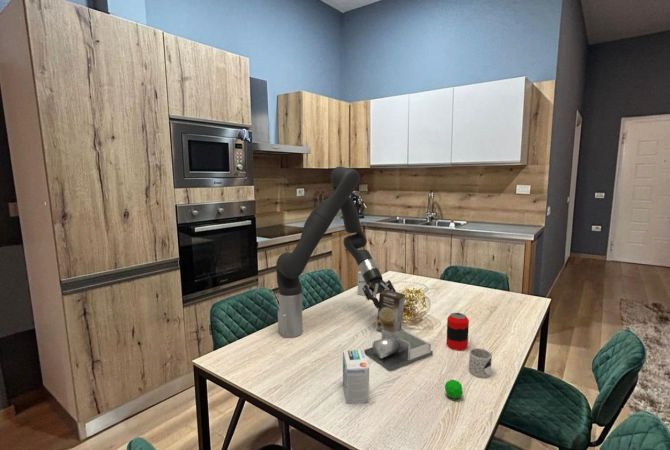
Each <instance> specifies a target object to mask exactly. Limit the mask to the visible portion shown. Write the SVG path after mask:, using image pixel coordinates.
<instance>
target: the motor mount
mask: <svg viewBox="0 0 670 450" xmlns="http://www.w3.org/2000/svg"><path fill="white" fill-rule="evenodd" d="M371 346H372V347H369V348H366V349H363V350H364V353H365V356H366V357H369V359H371V360H373V361H374V362H376V363H377V364H378V365H380V366H381V367H382V368H384V369H385V370H387V371H388V372H393V371H395V370H397V369H401V368H403V367H405V366H408V365H411V364H414V363H416V362H419V361H421V360H424V359H426V358H429V357H431V356H433V355H434V354H433V353H434V351H433V350H432V343H430V342H428V341H426V340H425V339H423V338H421V337H419V336H417V335H414V334H413V333H411V332H409V331H407V330H406V329H401V331H398V332H395V333H391V332H390V331H388V330H386V329H382V331H381V338H380V339H377V340H374V341H373V342H372V345H371Z"/></svg>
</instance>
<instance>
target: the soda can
mask: <svg viewBox="0 0 670 450" xmlns="http://www.w3.org/2000/svg"><path fill="white" fill-rule="evenodd" d="M446 319H447V321H446V322H447V323H446V341H445V342H446V347H448V348H449V349H451V350H454V351H466V350H467V348H468V347H469V346H468V344H469V328H470V327H469V324H470V320H469V318H468V317H467V315H465V314H463V313H462V312H452V313H450V314H449V315H448V316H447V318H446Z"/></svg>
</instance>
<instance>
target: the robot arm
mask: <svg viewBox="0 0 670 450" xmlns="http://www.w3.org/2000/svg"><path fill="white" fill-rule="evenodd" d="M330 182H331V185H332V188H333V190H334V191H333V193H332V194H330V196H329V197H327V198H326V199H325V200H323V201H322V202H320V203H319V204H318V205H316V206H315V207H314V208H313V209H312V211H311V212H310V213H309V216H307V218H306V220H305V222H304V224H303V228H302V230H301V231H302V232H301V235H300V238H299V240H298V243H297V244H296V246H295V247H294V249H293V250H292V252H291V251H290V252H289V251H286V252H282V253H281V254H280V255H279V257H277V259H276V264H275V265H276V267H275V268H276V269H275V270H276V283H277V284H276V285H277V287H278V296H279V299H278V305H279V306H278V307H279V309H278V310H277V333H278V334H280V335H281V336H282V337H283V338H284V339H286V338H296V337H298V336H301V335H302V334H303V333H304V330H303V327H304V326H303V325H304V324H303V286H302V284H301V280H300V278H299V277H300V276H301V275H302V274H303V273H304V270H305V269H306V266H307V264H308V262H309V260H310V259H311V256H312V254H313V253H314V251H315V249H316V248H317V246H318V245H319V243H320V241H321V240H322V238H323V237H324V235H325V233H326V232H327V230H328V229H329V228H330V226H331V224H332V222H333V220H334V219H335V217H336V216H337V215H338V213H339V211H340V210H341V215H342V219H343V224H344V225H343V226H344V229H345V232H347V234H351V235H348V236H345V237H344V239H343V246H344V248H345V249H346V250H347V252H348V253H349V254H350V255H351V256H352V257H353V259H354V260H355V262H356V264H357V266H358V268H359V271H360V272H361V274H362V276H363V278H364V280H365V282H366V284H367V285H364V287H363V288H362V289H363V291H364V294H365V296H364V297H365V298H366V300H367V301H370V300H371V301H372V303H373V305H374V307H375V308H376V309H378V308H379V307H380V306H381V305H380V303H379V298H378V297H377V294H380V293H381V292H382V291H383V290H385V289H387V290H391V291H394V292H397V291H396V289H395V287H394V285H393V283H392V282H391V280H389V279H388V280H387V281H385V280H383V276H382V275H383V274H382V273H381V272H380V270H379V268H378V266H377V263H376V262H375V260H374V259H373V256H372V255H371V253H370V252H369V250H368V249H362V248H363V247H366V245H367V242H368V240H367V236H366V235H365V233H364V232H363V230H362V227H361V223H360V222H361V221H360V216H359V211H358V210H357V208H356V206H355V203H354V202H353V201H352V199H351V195H352V194H353V192H354V191H355V190H356V188H357V187H358V185H359V182H360V173H359V171H357V170H356V169H354V168H349V167H345V166H337V167H334V168H333V170H332V171H331V173H330ZM369 289H370V290H371V291H372V292H371V293H370V291H369Z"/></svg>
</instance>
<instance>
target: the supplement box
mask: <svg viewBox="0 0 670 450" xmlns="http://www.w3.org/2000/svg"><path fill="white" fill-rule="evenodd" d="M364 285H367V284H366V282H365V280H364V278H363V276H362V274H361V272H360V270H359V271H358V272H357V295H360V296H364V297H366V296H365V294H364V291H363V289H362V288H363V287H364ZM369 291H370V293H371V292H372V291H371V290H370V289H369Z"/></svg>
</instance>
